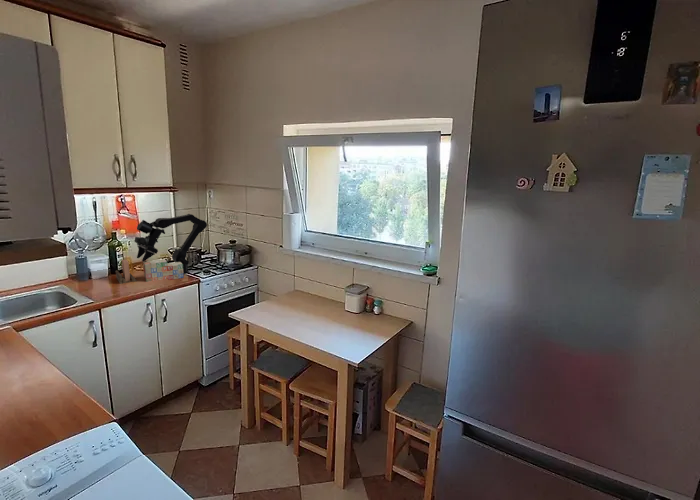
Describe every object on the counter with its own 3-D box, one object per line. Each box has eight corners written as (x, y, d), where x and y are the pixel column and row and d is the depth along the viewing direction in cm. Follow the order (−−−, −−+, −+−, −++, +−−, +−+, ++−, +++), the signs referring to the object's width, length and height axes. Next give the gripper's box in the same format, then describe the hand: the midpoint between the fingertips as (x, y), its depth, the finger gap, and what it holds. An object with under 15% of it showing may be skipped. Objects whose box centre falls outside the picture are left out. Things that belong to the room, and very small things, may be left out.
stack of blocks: (181, 275, 243) (180, 257, 240) (183, 278, 238) (182, 259, 235) (144, 280, 230) (142, 261, 227) (146, 283, 225) (144, 264, 222)
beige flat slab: (128, 278, 230) (126, 259, 227) (130, 280, 225) (128, 261, 223) (123, 278, 228) (121, 259, 225) (125, 281, 224) (123, 262, 221)
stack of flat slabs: (133, 277, 234) (132, 268, 233) (137, 282, 226) (136, 273, 224) (116, 279, 229) (115, 270, 227) (120, 285, 220) (119, 275, 218)
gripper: (135, 228, 230) (122, 251, 228) (146, 233, 218) (132, 257, 215) (152, 236, 238) (139, 258, 236) (163, 241, 226) (150, 265, 223)
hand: (140, 259), depth 227 cm, fingers open, 9 cm apart
